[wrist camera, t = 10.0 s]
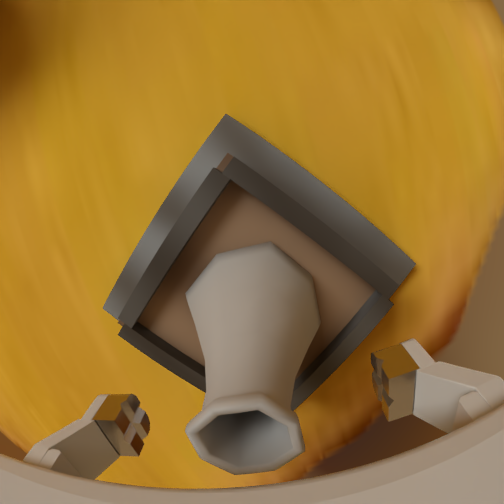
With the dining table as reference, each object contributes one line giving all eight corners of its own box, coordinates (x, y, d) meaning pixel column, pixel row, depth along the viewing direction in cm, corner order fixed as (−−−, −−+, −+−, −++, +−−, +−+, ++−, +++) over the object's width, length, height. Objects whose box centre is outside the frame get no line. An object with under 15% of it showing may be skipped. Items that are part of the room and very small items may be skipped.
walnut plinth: (227, 116, 18) (216, 96, 14) (409, 260, 20) (445, 281, 15) (108, 303, 22) (75, 331, 17) (275, 410, 23) (277, 453, 18)
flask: (276, 216, 16) (300, 270, 6) (340, 324, 17) (404, 451, 7) (164, 286, 17) (73, 394, 7) (235, 379, 18) (218, 516, 8)
